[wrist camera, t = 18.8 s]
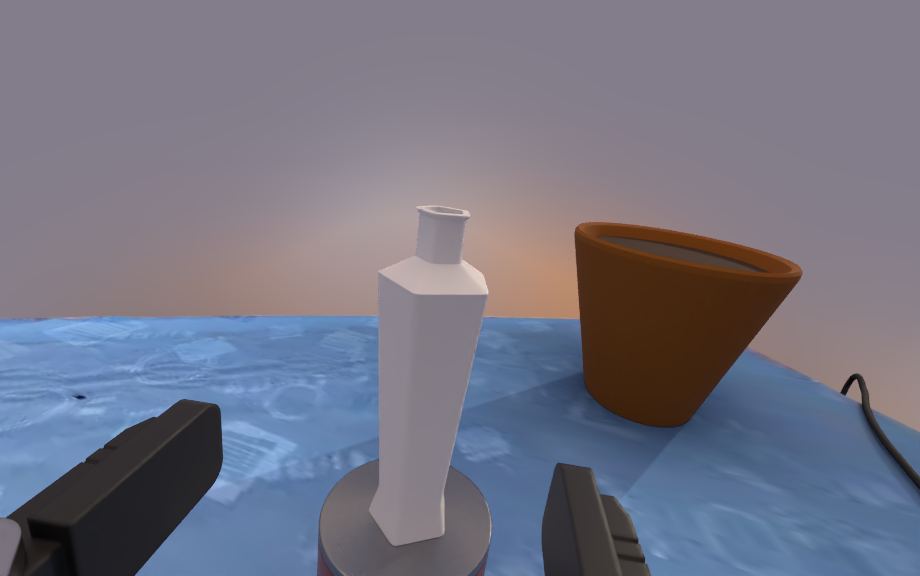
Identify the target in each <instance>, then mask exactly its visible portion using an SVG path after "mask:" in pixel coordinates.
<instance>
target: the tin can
mask: <svg viewBox="0 0 920 576" xmlns="http://www.w3.org/2000/svg"><path fill="white" fill-rule="evenodd" d="M378 486H379V459H377V460H374V461H371V462H368V463H366V464H364V465H361V466H359V467H358V468H356V469H354V470H352V471H351V472H350V473H348V474H347V475H345V476H344V477H343V478H342V479H341V480H340V481H339V482H338V483H337V484H336V485H335V486H334V487H333V488H332V490H331V491H330V493H329V494H328V496H327V498H326V500H325V502H324V504H323V507H322V510H321V513H320V519H319V534H318V563H317V576H484V572H485V567H486V562H487V556H488V551H489V546H490V541H491V534H492V520H491V514H490V511H489V508H488V505H487V503H486V500H485V498H484V496H483V495H482V493H481V492H480V490H479V489H478V488H477V487H476V485H475V484H474V483H473V482H472V481H471V480H470V479H469V478H468V477H466V476H465V475H464V474H462V473H461V472H460V471H458V470H456V469H455V468H453V467H451V466H449V470H448V474H447V479H446V483H445V488H444V492H443V493H444V527H445V531H444V534H443V535H442V536H440V537H437V538H432V539H427V540H423V541H418V542H413V543H409V544H404V545H399V546H394V545H392V544H391V543H390V542H389V541H388V539H387V538H386V536H385V535H384V533H383V532H382V530H381V529H380V527H379V526H378V524H377V523H376V521H375V520H374V518H373V517H372V515H371V514H370V512H369V508H370V505H371V503H372V501H373V498H374V496H375V494H376V491H377V489H378Z"/></svg>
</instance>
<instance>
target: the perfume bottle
mask: <svg viewBox="0 0 920 576" xmlns="http://www.w3.org/2000/svg"><path fill="white" fill-rule="evenodd" d="M417 210H418V212H419V213H420V217H419V228H418V238H417V248H416V255H415V256H413V257H411V258H408V259H406V260H403V261H401V262H398V263H396V264H394V265H391V266H389V267H387V268H384V269H382V270H380V271H379V272H378V277H379V278H378V279H379V486H378V489H377V491H376V494H375V496H374V498H373V501H372V503H371V505H370V508H369V512H370V514H371V515H372V517H373V518H374V520H375V521H376V523H377V524H378V526H379V527H380V529H381V530H382V532H383V533H384V535H385V536H386V538H387V539H388V541H389V542H390V543H391V544H392V545H394V546H399V545H404V544H409V543H413V542H418V541H423V540H427V539H432V538H437V537H440V536H442V535H443V534H444V531H445V527H444V493H443V492H444V488H445V483H446V479H447V474H448V470H449V466H450V461H451V457H452V452H453V448H454V443H455V439H456V435H457V430H458V426H459V421H460V417H461V413H462V408H463V404H464V399H465V395H466V390H467V386H468V382H469V377H470V373H471V368H472V364H473V359H474V355H475V351H476V346H477V342H478V337H479V333H480V328H481V324H482V320H483V315H484V311H485V306H486V302H487V297H488V293H489V292H488V289H487V285H486V282H485V279H484V276H483V274H482V273H481V272H479V271H478V270H476V269H475V268H474V267H472V266H471V265H469V264H468V263H466V262H465V261H464V260H462V251H463V242H464V236H465V228H466V221H467V220H468V219H469V218H470V213H469V212H468V211H466V210H461V209H455V208H448V207H443V206H421V207H417Z"/></svg>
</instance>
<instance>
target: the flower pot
mask: <svg viewBox="0 0 920 576" xmlns="http://www.w3.org/2000/svg"><path fill="white" fill-rule="evenodd" d="M575 248H576V261H577V262H576V264H577V279H578V294H579V309H580V323H581V338H582V353H583V368H584V382H585V386H586V388H587V390H588V392H589V393H590V394H591V396H592V397H593V398H594V399H595V400H596V401H597V402H599V403H600V404H601V405H603V406H604V407H605V408H607V409H609V410H610V411H612V412H614V413H616V414H617V415H620V416H622V417H624V418H626V419H629V420H632V421H635V422H638V423H641V424H645V425H650V426H657V427H673V426H679V425H682V424H684V423H686V422H687V421H688V420H690V418H691V417H692V416H693V415H694V413H695V412H696V411H697V409H698V408H699V407H700V406H701V404H702V403H703V402H704V401H705V399H706V398H707V397H708V395H709V394H710V393H711V392H712V390H713V389H714V388H715V387H716V385H717V384H718V383H719V382H720V380H721V379H722V378H723V376H724V375H725V374H726V373H727V371H728V370H729V369H730V368H731V366H732V365H733V364H734V363H735V361H736V360H737V359H738V357H739V356H740V355H741V354H742V352H743V351H744V350H745V349H746V347H747V346H748V345H749V343H750V342H751V341H752V340H753V338H754V337H755V335H757V333H758V332H759V331H760V330H761V328H762V327H763V326H764V324H765V323H766V322H767V321H768V319H769V318H770V317H771V316H772V314H773V313H774V312H775V310H776V309H777V308H778V307H779V305H780V304H781V303H782V302H783V300H784V299H785V298H786V297H787V295H788V294H789V293H790V291H791V290H792V289H793V288H794V286H795V285H796V284H797V283H798V281H799V280H800V278H801V276H802V270H801V268H800V267H799V266H798V265H796V264H795V263H793V262H791V261H789V260H786V259H784V258H781V257H778V256H776V255H773V254H770V253H767V252H763V251H760V250H757V249H753V248H749V247H746V246H742V245H738V244H734V243H730V242H726V241H721V240H717V239H712V238H707V237H703V236H698V235H693V234H687V233H683V232H677V231H671V230H665V229H659V228H652V227H645V226H638V225H629V224H619V223H603V222H592V223H591V222H590V223H582V224H580V225H579V226H577V227H576V230H575Z"/></svg>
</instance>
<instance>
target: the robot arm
mask: <svg viewBox="0 0 920 576" xmlns="http://www.w3.org/2000/svg"><path fill="white" fill-rule="evenodd" d="M855 379H857V380H858V383H859V387H860V390H861V394H862V406H863V409H864V412H865V414H866V417H867V419H868V421H869V423H870V425H871V427H872V429H873V430H874V432H875V434H876V435H877V437H878V438H879V440H880V441H881V443H882V444H883V445H884V447H885V448H886V449H887V451H888V452H889V453H890V454H891V456H892V457H893V458H894V459H895V460H896V462H897V463H898V464H899V465H900V467H901V468H902V469H903V470H904V471H905V473H906V474H907V475H908V476H909V478H910V479H911V480H912V481H913V482H914V483H915V485H916V486H917V487H918V488H919V489H920V477H919V476H918V474H917V473H916V472H915V471H914V470H913V469H912V467H911V466H910V465H909V464H908V463H907V462H906V460H905V459H904V458H903V457H902V456H901V454H900V453H899V452H898V451H897V450H896V449H895V447H894V446H893V445H892V444H891V442H890V441H889V440H888V438H887V437H886V436H885V434H884V433H883V431H882V430H881V428H880V427H879V425H878V423H877V422H876V420H875V418H874V415H873V413H872V410H871V408H870V404H869V394H868V390H867V388H866V385H865V382H864V379H863V377H862V376H861V375H860V374H853V375H852V376H850V377H849V378H848V380H847V381H846V383H845V384H844V386H843V388H842V390H841V392H840V393H841V394H843V395H845V396H846V394H847V392H848V390H849V388H850V386H851V385H852V383H853V382H854V380H855ZM222 461H223V450H222V429H221V411H220V408H219V406H218V405H216V404H211V403H206V402H200V401H194V400H188V399H183V400H180V401H178V402H177V403H175V404H174V405H173V406H171V407H170V408H169V409H168V410H166V411H165V412H164V413H162V414H161V415H160V416H158V417H157V418H156V417H152V418H150V419H147V420H145V421H143V422H141V423H139V424H136V425H134V426H132V427H130V428H127V429H126V430H124V431H123V432H122V433H120V434H119V435H117V436H116V437H115V438H113V439H112V440H111V441H109V442H108V443H107V444H105V445H104V448H103V449H101V448H100V449H98V450H97V451H96V452H94V453H93V454H92V455H90V456H89V457H88V458H86V461H85V462H84V463H83V462H81V463H79V464H78V465H77V466H75V467H74V468H73V469H71V470H70V471H69V472H67V473H66V474H65V475H63V476H62V477H60V478H59V479H58V480H56V481H55V482H54V483H52V484H51V485H50V486H48V487H47V488H46V489H44V490H43V491H41V492H40V493H39V494H37V495H36V496H35V497H33V498H32V499H31V500H29V501H28V502H27V503H25V504H24V505H22V506H21V507H20V508H18V509H17V510H16V511H14V512H13V513H12V514H10V515H9V516H7V517H6V518H0V576H135V574H136V573H137V572H138V571H139V570H140V569H141V568H142V566H143V565H144V564H145V563H146V562H147V561H148V559H149V558H150V557H151V556H152V555H153V554H154V553H155V551H156V550H157V549H158V548H159V547H160V546H161V544H162V543H163V542H164V541H165V540H166V539H167V538H168V536H169V535H170V534H171V533H172V532H173V531H174V529H175V528H176V527H177V526H178V525H179V524H180V523H181V521H182V520H183V519H184V518H185V517H186V516H187V514H188V513H189V512H190V511H191V510H192V509H193V508H194V506H195V505H196V504H197V503H198V502H199V501H200V499H201V498H202V497H203V496H204V495H205V494H206V493H207V491H208V490H209V489H210V488H211V487H212V485H213V484H214V483H215V481H216V479H217V477H218V475H219V473H220V470H221V467H222ZM542 551H543V561H544V571H545V576H651V574H650V571H649V568H648V566H647V564H645V557H644V554H643V551H642V549H641V546H640V544H638V537H637V535H636V532H635V529H634V526H633V523H632V520H631V518H630V516H629V515H628V514H627V512H626V511H625V510H624V509H623V507H622V506H621V505H620V503H619V502H618V501H617V500H616V498H615V497H613V496H607V495H601V494H599V491H598V488H597V484H596V481H595V477H594V474H593V471H592V469H591V468H587V467H581V466H575V465H569V464H563V463H557V464H556V467H555V470H554V474H553V478H552V482H551V486H550V490H549V495H548V499H547V503H546V507H545V512H544V516H543V523H542Z"/></svg>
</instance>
